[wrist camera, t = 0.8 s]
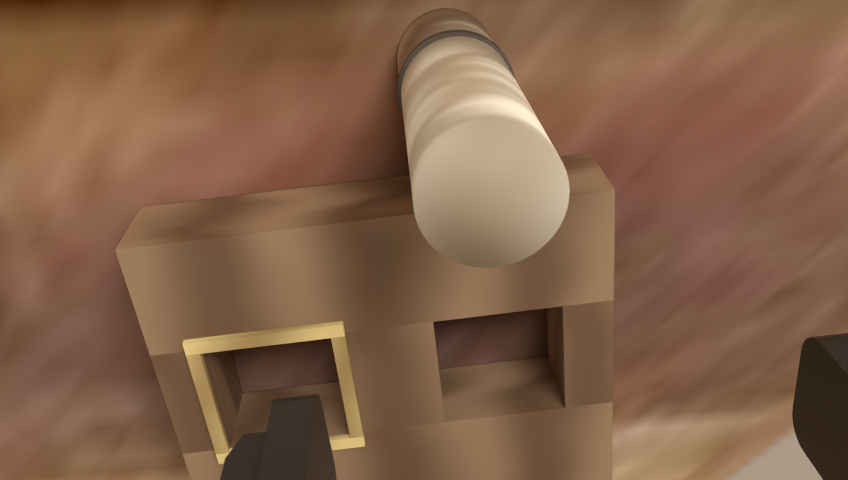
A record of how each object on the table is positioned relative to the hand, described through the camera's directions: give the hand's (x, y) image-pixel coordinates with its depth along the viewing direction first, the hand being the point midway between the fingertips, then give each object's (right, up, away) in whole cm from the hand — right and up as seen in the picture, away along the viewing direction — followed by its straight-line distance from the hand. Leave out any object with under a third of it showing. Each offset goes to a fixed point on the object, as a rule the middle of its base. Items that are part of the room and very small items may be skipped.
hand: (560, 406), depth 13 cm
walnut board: (-4, -2, +25) cm, 26 cm away
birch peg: (-1, +10, +19) cm, 22 cm away
